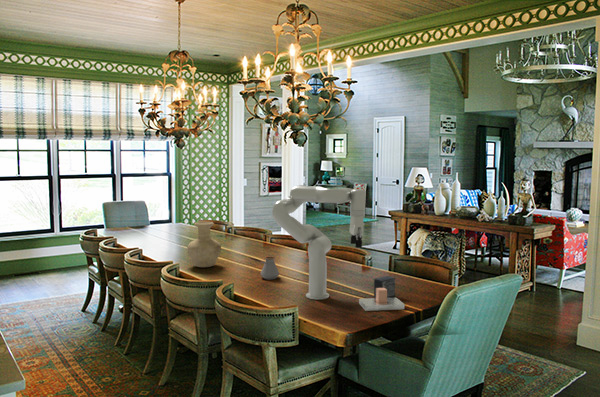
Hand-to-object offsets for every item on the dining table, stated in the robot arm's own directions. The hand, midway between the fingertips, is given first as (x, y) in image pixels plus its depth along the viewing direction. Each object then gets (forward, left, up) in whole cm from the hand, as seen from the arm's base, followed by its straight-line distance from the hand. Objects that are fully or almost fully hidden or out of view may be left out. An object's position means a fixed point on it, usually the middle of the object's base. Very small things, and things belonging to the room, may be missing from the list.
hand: (356, 245), depth 255 cm
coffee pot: (-50, -44, -30) cm, 73 cm away
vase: (-89, -81, -30) cm, 124 cm away
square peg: (+11, +11, -30) cm, 33 cm away
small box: (-5, +18, -30) cm, 35 cm away
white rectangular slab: (+11, +11, -30) cm, 33 cm away
